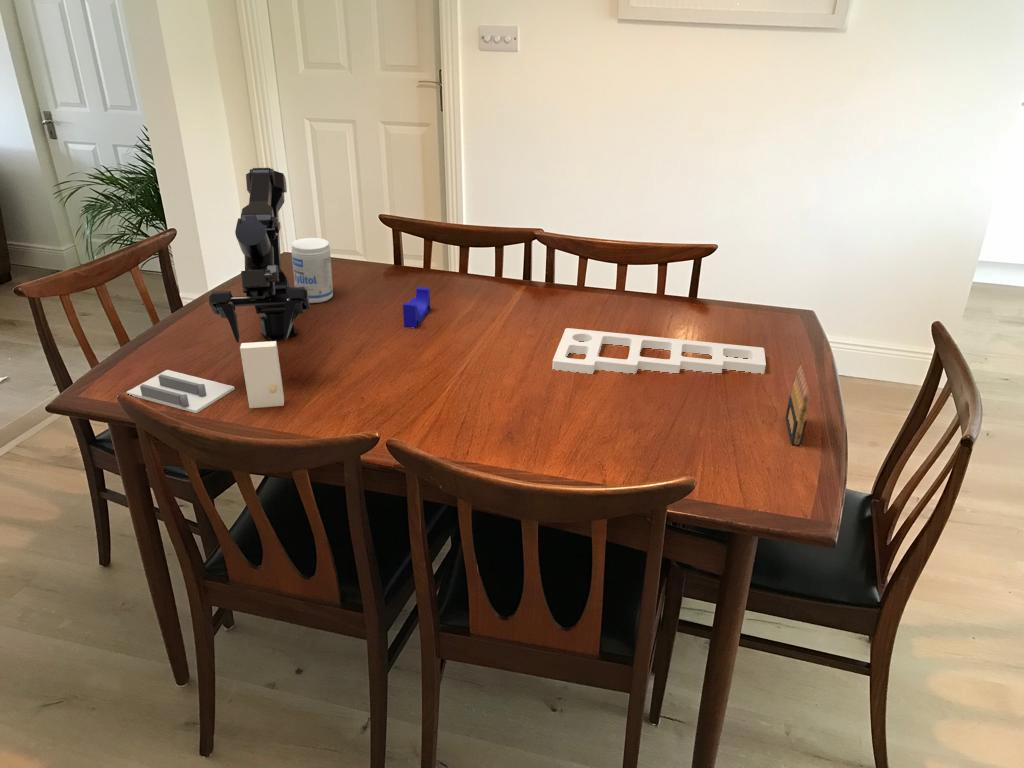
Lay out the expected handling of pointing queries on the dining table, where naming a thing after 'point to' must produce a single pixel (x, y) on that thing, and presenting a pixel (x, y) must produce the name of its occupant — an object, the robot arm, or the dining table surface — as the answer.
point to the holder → (635, 361)
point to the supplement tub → (313, 268)
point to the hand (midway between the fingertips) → (261, 340)
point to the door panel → (262, 374)
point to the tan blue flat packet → (797, 408)
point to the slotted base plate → (181, 391)
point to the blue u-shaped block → (417, 307)
